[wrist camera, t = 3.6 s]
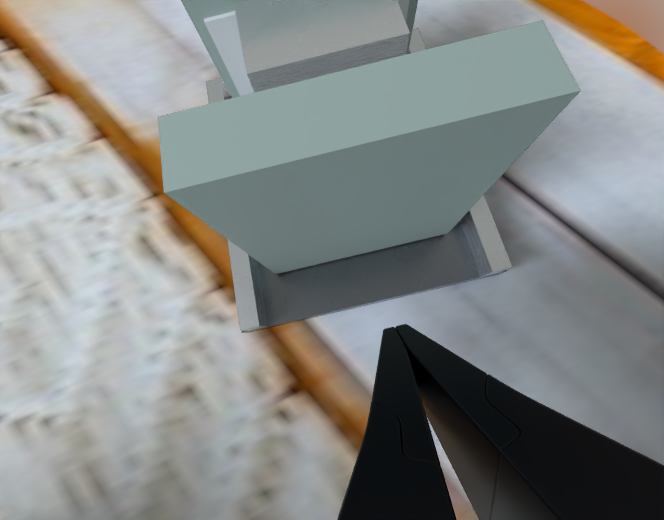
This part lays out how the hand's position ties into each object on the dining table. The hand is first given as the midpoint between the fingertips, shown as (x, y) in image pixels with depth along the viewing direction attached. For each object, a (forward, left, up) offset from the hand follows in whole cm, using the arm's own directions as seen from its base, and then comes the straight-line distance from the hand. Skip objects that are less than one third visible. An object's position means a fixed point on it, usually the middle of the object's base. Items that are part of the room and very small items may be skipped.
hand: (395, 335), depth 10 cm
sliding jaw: (+5, -3, -5) cm, 8 cm away
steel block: (+11, -5, -6) cm, 13 cm away
